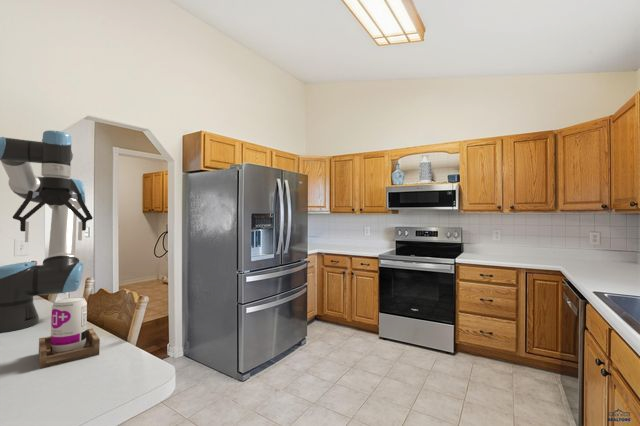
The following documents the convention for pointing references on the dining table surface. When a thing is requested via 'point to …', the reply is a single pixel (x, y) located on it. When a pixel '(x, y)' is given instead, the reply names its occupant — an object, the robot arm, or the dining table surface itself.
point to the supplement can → (68, 325)
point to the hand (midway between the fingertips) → (54, 241)
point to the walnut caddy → (88, 351)
